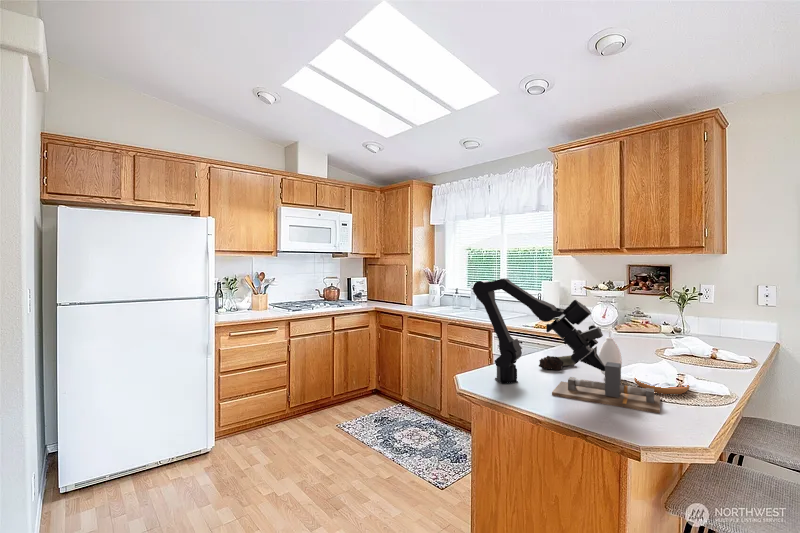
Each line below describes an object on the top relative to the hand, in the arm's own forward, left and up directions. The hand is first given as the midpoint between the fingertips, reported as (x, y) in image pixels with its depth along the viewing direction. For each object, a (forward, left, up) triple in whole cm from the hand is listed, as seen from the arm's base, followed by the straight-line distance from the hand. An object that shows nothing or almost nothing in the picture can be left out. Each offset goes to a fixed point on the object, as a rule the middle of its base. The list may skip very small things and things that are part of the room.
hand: (605, 370), depth 129 cm
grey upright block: (+2, -2, -7) cm, 8 cm away
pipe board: (0, 0, -9) cm, 9 cm away
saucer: (+25, +3, -9) cm, 27 cm away
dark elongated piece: (+6, +36, -9) cm, 38 cm away
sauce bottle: (+17, +18, -9) cm, 26 cm away
